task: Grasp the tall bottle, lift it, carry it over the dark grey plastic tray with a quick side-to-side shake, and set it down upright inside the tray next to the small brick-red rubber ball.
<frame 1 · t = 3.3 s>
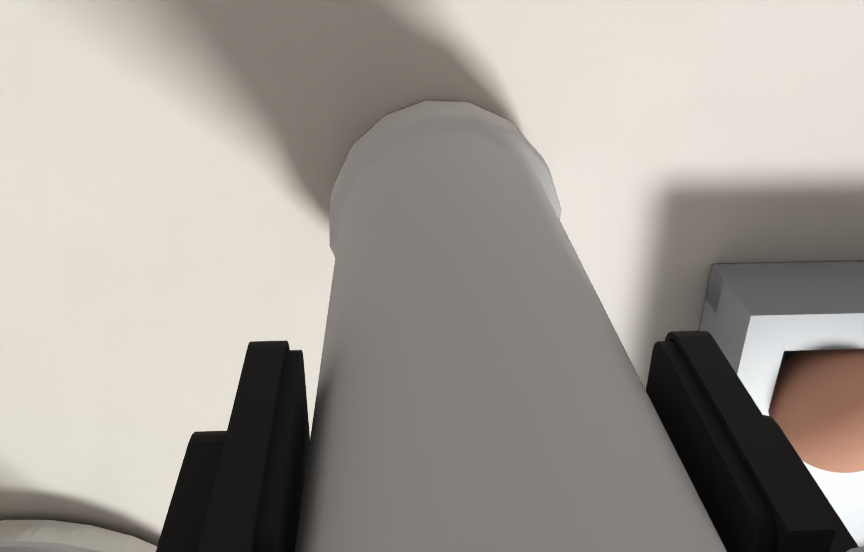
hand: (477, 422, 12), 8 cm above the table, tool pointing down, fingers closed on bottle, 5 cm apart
ball: (807, 369, 22), point 1 cm above the table, touching tray
bottle: (439, 192, 20), on the table, touching gripper
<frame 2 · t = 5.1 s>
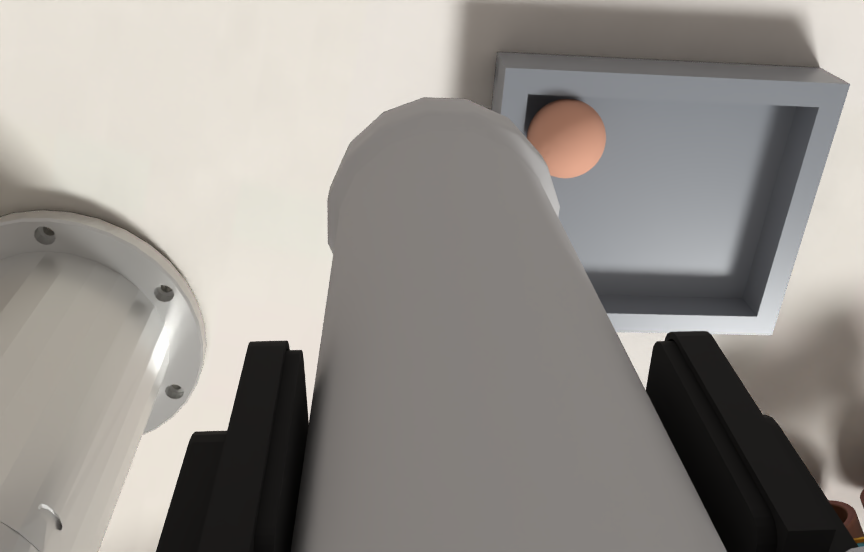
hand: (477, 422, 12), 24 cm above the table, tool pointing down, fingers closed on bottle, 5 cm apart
ball: (558, 126, 35), point 1 cm above the table, touching tray
bottle: (437, 189, 20), point 16 cm above the table, touching gripper
binoculars: (841, 499, 48), on the table
tray: (635, 191, 38), on the table
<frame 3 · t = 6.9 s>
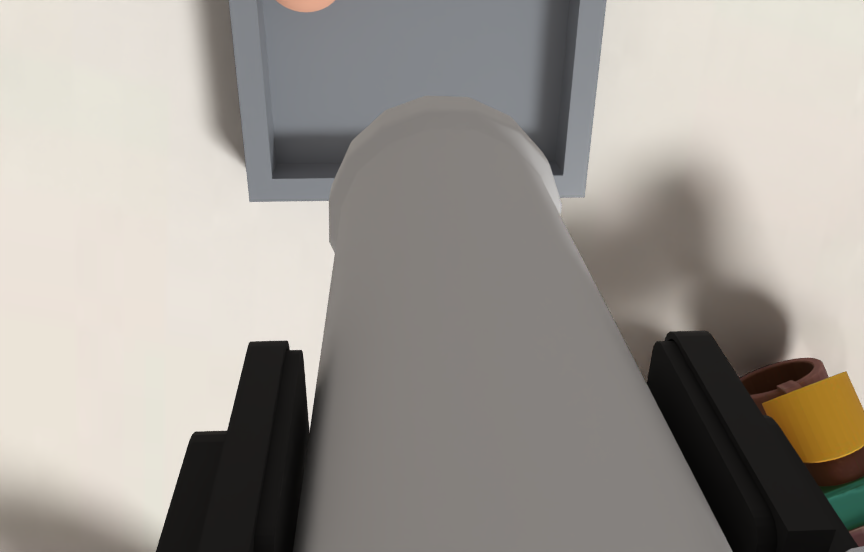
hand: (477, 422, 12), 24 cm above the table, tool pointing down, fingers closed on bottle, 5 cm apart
bottle: (439, 188, 20), point 16 cm above the table, touching gripper
binoculars: (714, 398, 44), on the table
tray: (416, 39, 34), on the table
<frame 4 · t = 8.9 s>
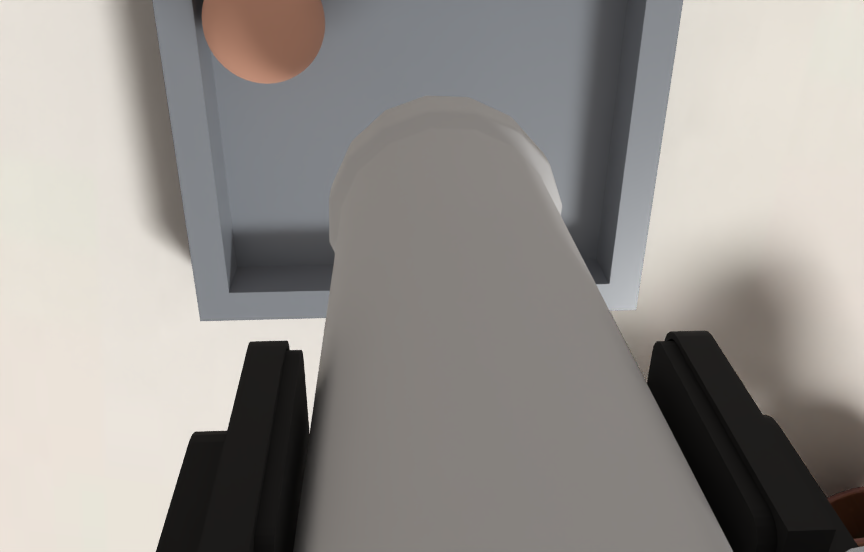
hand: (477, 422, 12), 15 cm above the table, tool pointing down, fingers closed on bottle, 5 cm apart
ball: (270, 9, 23), point 1 cm above the table, touching tray
bottle: (439, 188, 20), point 7 cm above the table, touching gripper
binoculars: (781, 525, 36), on the table
tray: (418, 109, 26), on the table
when the fingers open (10 cm above the table, at t = 10.3 s): bottle stays where it is, resting on tray.
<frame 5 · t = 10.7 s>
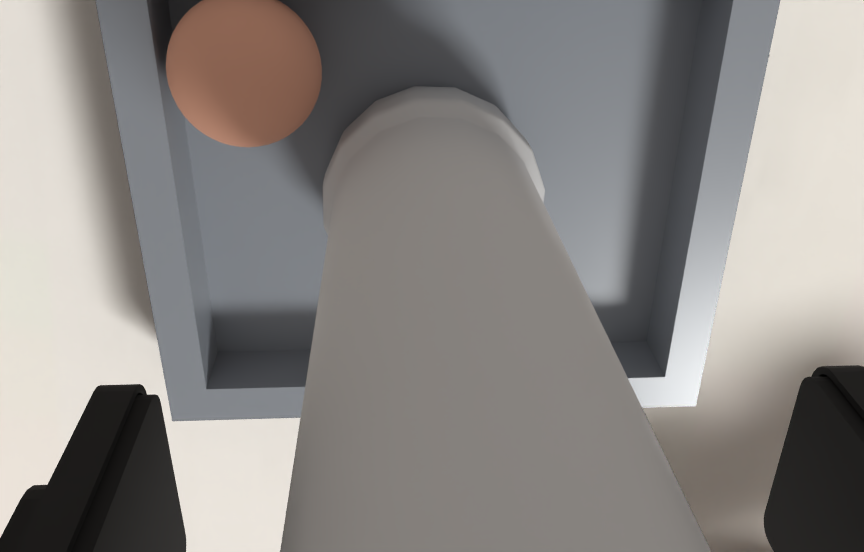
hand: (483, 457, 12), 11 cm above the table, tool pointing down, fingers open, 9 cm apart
ball: (255, 51, 19), point 1 cm above the table, touching tray
bottle: (429, 175, 21), point 1 cm above the table, touching tray
tray: (435, 168, 21), on the table
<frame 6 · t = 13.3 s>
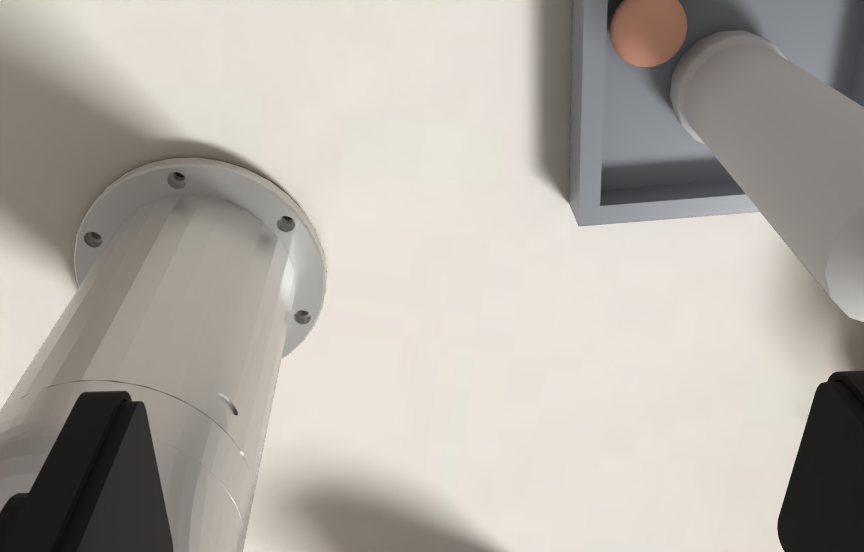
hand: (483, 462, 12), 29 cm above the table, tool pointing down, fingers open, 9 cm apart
ball: (638, 19, 37), point 1 cm above the table, touching tray
bottle: (719, 80, 38), point 1 cm above the table, touching tray
tray: (718, 77, 39), on the table
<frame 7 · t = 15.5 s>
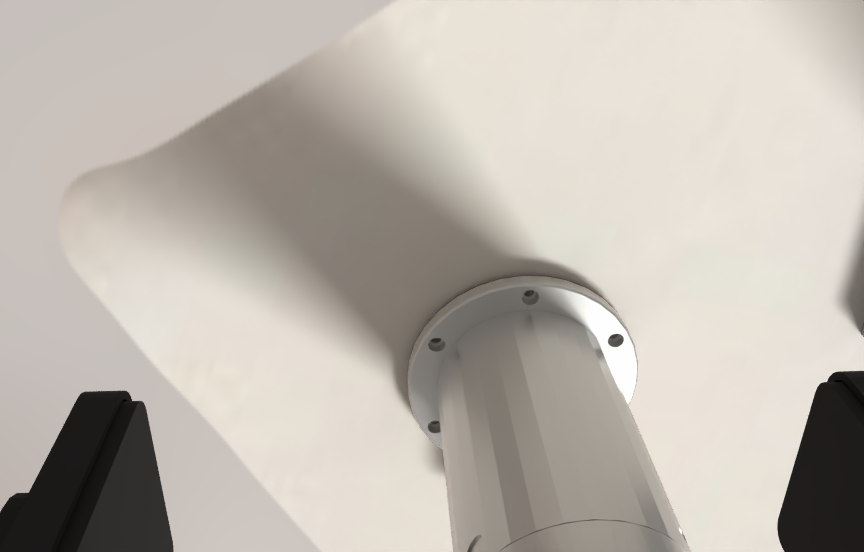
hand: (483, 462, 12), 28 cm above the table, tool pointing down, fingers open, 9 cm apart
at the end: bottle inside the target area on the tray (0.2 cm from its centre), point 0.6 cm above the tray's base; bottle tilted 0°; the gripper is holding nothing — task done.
